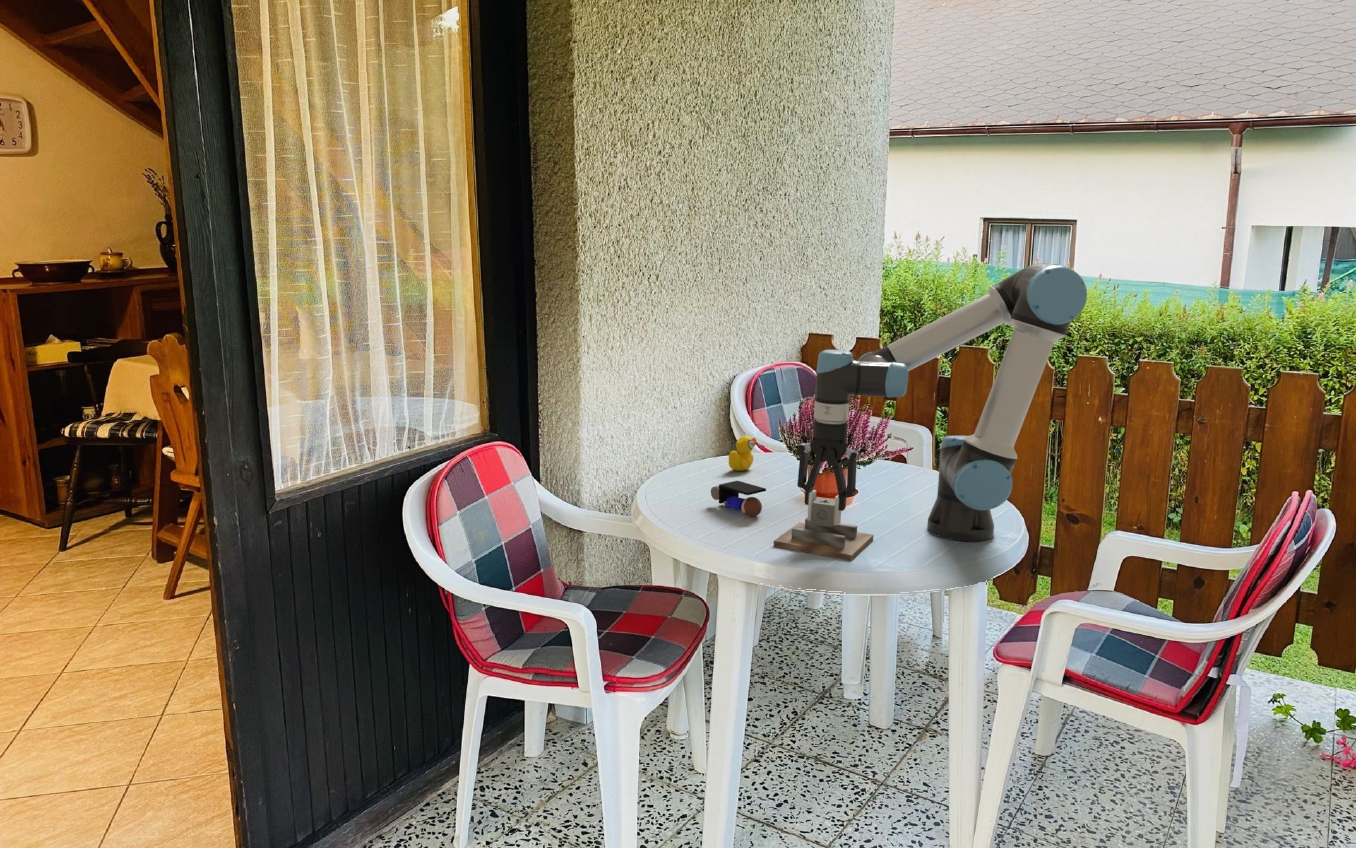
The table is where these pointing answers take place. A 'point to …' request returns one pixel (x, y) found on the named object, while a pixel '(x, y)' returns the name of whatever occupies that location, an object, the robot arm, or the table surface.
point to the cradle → (825, 540)
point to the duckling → (742, 454)
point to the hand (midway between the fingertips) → (823, 521)
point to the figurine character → (730, 497)
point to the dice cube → (822, 512)
